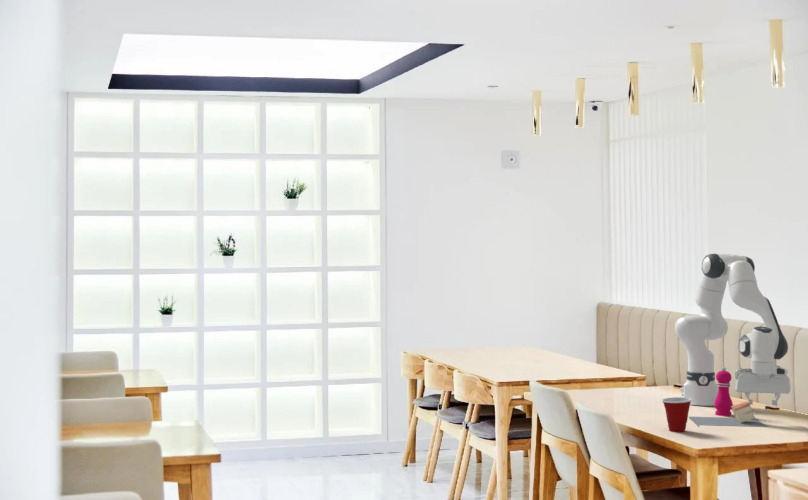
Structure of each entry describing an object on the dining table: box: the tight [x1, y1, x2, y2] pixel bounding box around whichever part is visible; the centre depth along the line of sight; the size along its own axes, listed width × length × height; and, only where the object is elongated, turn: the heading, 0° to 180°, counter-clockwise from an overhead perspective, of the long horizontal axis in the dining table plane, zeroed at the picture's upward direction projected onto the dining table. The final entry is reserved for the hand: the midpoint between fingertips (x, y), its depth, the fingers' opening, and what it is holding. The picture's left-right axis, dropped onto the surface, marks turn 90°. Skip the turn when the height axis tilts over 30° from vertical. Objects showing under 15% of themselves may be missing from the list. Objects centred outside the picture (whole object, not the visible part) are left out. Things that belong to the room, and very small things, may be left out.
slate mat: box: [688, 416, 769, 428], centre depth 375 cm, size 20×26×1 cm
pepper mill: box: [713, 366, 733, 417], centre depth 391 cm, size 7×7×20 cm
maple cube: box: [731, 400, 756, 423], centre depth 374 cm, size 6×6×6 cm
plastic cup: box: [661, 396, 692, 433], centre depth 356 cm, size 11×11×12 cm
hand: (762, 404), depth 373 cm, fingers open, 8 cm apart
